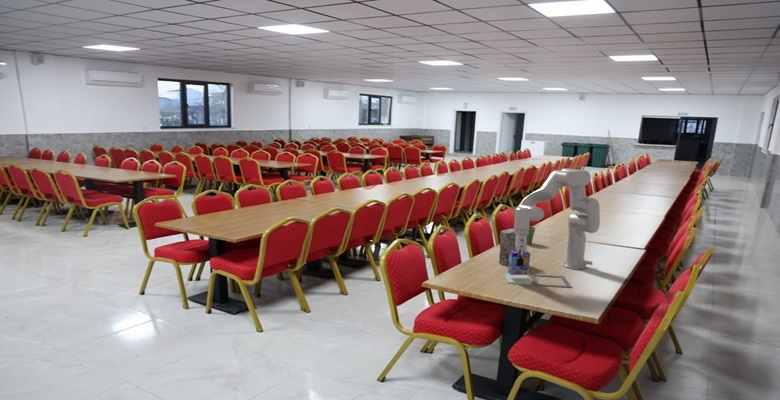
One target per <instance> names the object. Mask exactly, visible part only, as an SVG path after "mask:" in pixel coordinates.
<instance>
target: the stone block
mask: <svg viewBox="0 0 780 400" xmlns="http://www.w3.org/2000/svg"><path fill="white" fill-rule="evenodd" d="M515 237H516V234H514V228H508V229H504V230H501V231H500V232H499V256H498V257H499V260H498V261H499V262H498V263H499V264H501V265H503V266H509V254H510V251H513V250H515Z"/></svg>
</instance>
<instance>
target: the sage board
mask: <svg viewBox="0 0 780 400" xmlns="http://www.w3.org/2000/svg"><path fill="white" fill-rule="evenodd" d="M504 277H505V279H506V282H507V284H510V285H511V284H512V285H527V286H532V283H533V282H532V281H531V279H530V277H529V274H528V275H510V273H504Z"/></svg>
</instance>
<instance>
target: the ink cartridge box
mask: <svg viewBox="0 0 780 400" xmlns="http://www.w3.org/2000/svg"><path fill="white" fill-rule="evenodd" d="M519 253H521V252H519ZM519 255H520V254H519ZM517 258H518V253H517V252H516V250H513V251H510V254H509V265H508V270H507V272H508V274H510V275H528V276H529V269H530V261H531V259H530V258H531V252H529V251H528V250H527V253H526V254H525V253H524V261H523V266H517Z"/></svg>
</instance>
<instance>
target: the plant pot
mask: <svg viewBox="0 0 780 400" xmlns="http://www.w3.org/2000/svg"><path fill="white" fill-rule="evenodd" d="M536 229H537V227H535V226H531V225H529V234H528V235H527V245H532V243H533V240H534V236H535V235H534V234H535V232H536Z"/></svg>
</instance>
